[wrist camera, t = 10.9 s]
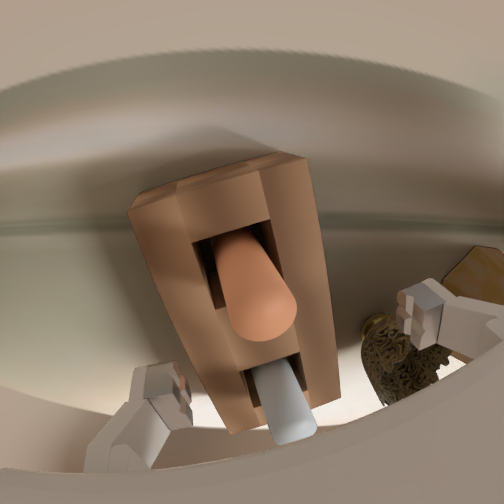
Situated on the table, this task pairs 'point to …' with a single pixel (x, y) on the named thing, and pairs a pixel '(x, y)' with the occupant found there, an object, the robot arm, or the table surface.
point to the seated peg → (283, 402)
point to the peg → (252, 286)
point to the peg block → (209, 286)
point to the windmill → (478, 280)
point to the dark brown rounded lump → (397, 360)
